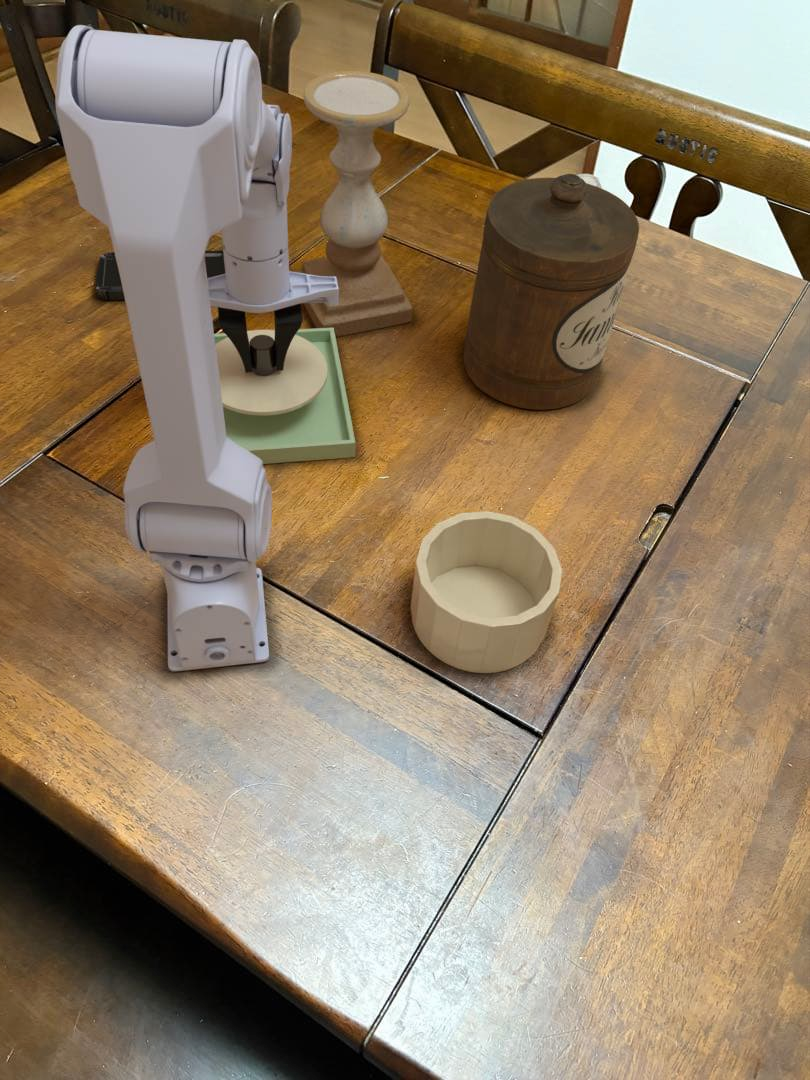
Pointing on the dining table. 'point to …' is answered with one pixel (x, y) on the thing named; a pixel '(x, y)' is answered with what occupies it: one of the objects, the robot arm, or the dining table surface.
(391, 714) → the dining table surface
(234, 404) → the lid
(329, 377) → the tray
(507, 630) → the tin
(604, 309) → the wooden container
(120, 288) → the phone
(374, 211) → the candle holder
